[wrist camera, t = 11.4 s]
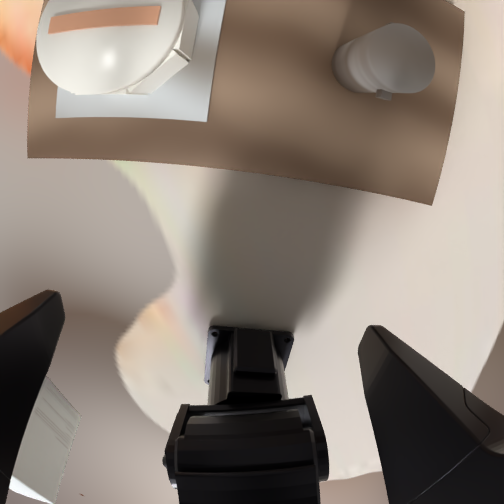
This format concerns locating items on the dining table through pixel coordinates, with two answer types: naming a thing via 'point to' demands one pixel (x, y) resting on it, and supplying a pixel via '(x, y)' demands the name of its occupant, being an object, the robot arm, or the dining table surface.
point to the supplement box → (45, 445)
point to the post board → (283, 97)
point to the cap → (115, 44)
